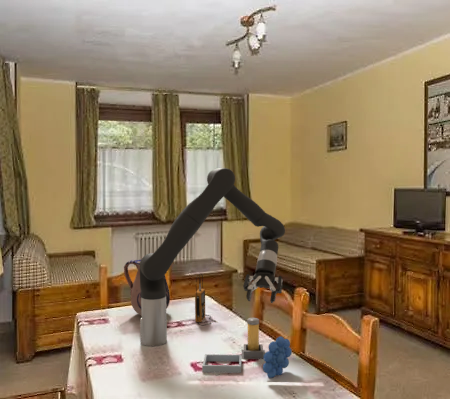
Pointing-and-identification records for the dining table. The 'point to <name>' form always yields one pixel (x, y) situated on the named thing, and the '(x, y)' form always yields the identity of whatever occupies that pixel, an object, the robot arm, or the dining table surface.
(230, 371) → the tray
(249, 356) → the socket block
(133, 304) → the ceramic pitcher
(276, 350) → the grapes
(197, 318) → the multimeter
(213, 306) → the dining table surface
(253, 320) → the cylinder
